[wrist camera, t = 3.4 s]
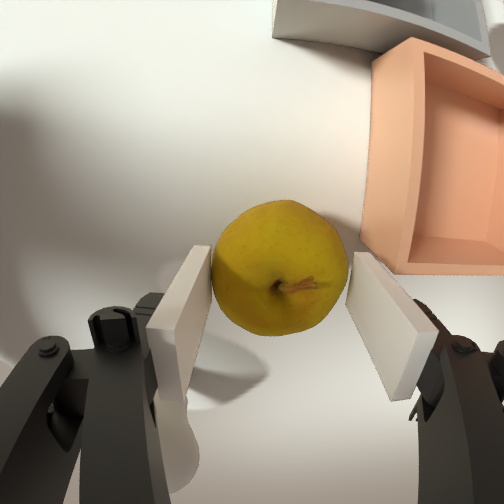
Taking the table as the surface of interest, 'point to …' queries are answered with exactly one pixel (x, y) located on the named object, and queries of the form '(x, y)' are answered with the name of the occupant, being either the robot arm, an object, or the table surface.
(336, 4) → the grey square tray
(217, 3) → the table surface
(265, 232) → the apple
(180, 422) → the lightbulb
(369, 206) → the orange square tray
